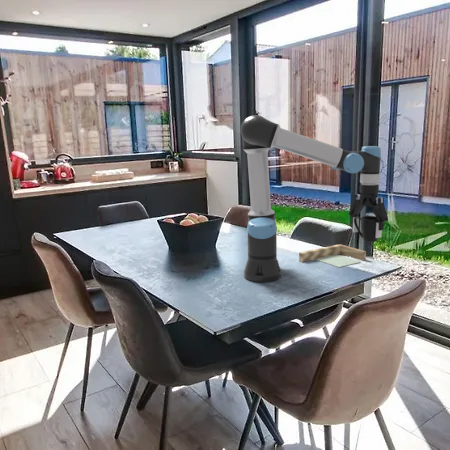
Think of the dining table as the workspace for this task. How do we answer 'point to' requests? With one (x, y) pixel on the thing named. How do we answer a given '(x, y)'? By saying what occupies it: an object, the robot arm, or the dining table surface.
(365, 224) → the mug
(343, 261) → the mat
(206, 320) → the dining table surface
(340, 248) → the tan bent bar
